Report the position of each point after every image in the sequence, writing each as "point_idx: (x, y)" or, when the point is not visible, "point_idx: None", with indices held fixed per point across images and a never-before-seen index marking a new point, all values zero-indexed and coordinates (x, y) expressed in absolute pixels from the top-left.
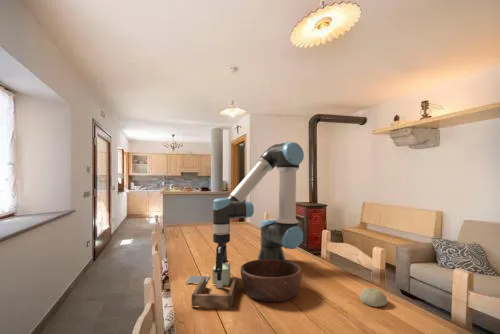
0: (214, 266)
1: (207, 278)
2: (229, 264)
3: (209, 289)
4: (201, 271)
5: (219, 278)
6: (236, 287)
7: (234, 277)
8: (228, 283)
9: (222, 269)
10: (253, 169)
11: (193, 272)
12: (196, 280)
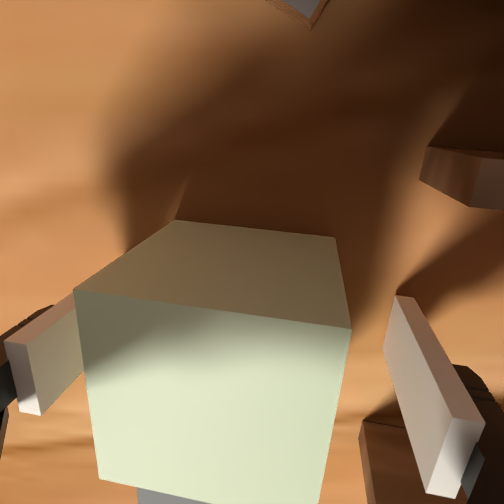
0: (195, 496)
1: None
2: (79, 304)
3: None
4: (21, 437)
5: (481, 398)
6: (449, 148)
7: (489, 194)
8: (334, 243)
9: (333, 413)
10: None
11: (52, 481)
12: None
